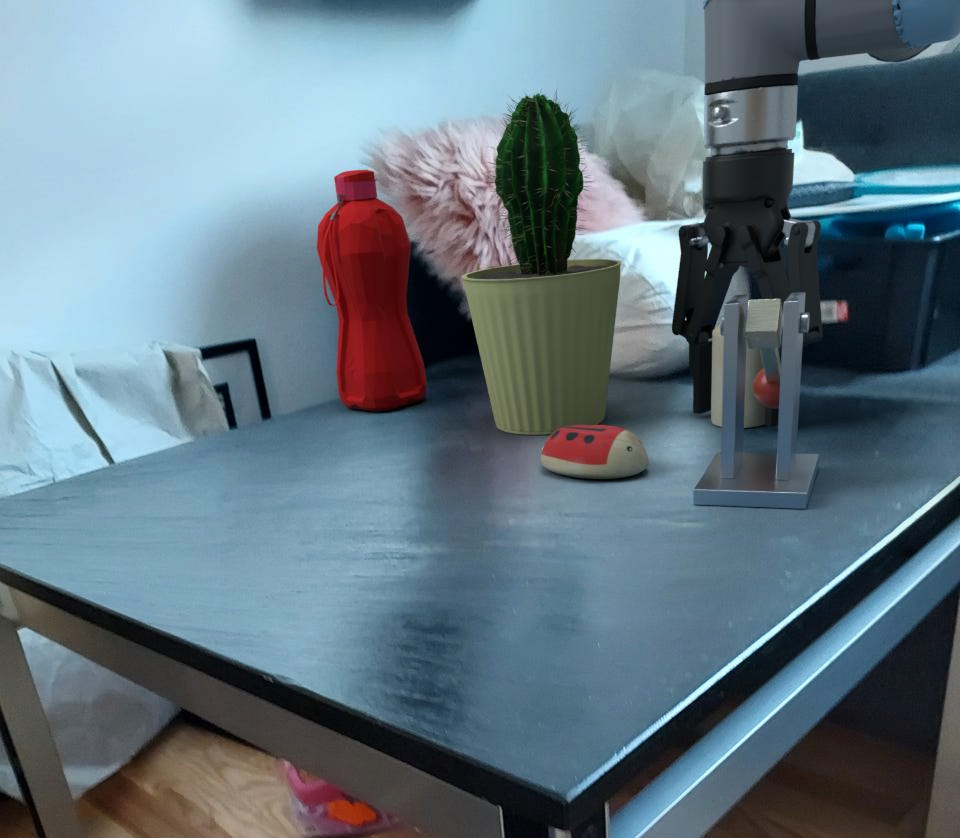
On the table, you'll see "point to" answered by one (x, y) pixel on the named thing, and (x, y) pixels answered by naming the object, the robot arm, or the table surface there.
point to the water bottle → (370, 297)
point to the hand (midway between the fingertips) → (740, 416)
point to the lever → (766, 347)
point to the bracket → (731, 470)
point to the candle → (754, 365)
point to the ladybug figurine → (594, 452)
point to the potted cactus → (543, 285)
